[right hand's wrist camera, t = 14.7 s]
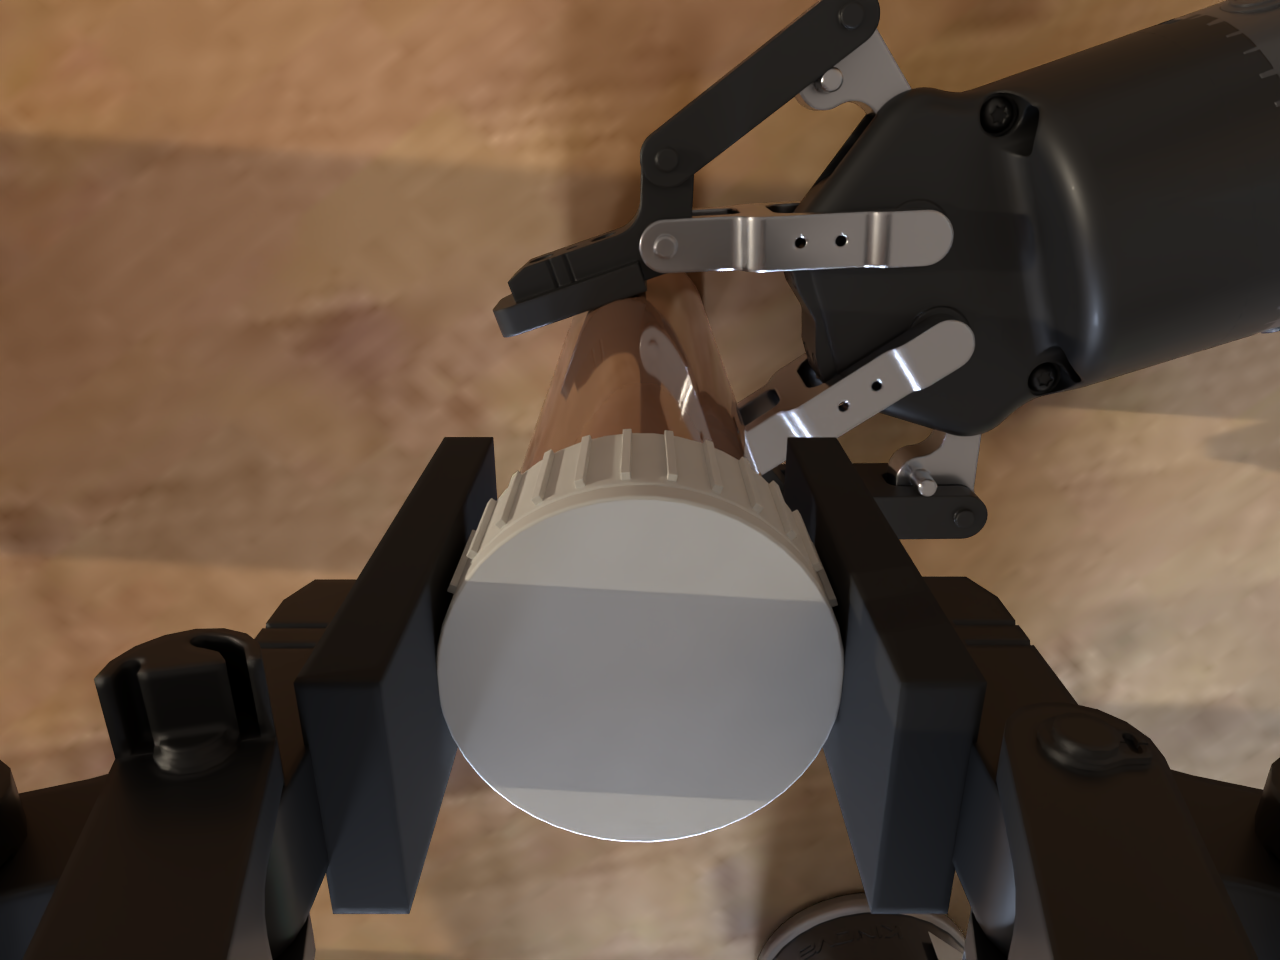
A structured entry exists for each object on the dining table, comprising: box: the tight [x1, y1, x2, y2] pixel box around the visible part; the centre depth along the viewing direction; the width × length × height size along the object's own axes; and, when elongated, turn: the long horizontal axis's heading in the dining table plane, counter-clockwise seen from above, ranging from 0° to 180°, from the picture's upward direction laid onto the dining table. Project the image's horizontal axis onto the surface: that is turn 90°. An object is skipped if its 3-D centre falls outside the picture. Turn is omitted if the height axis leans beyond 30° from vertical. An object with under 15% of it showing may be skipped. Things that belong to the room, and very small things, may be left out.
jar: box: [520, 272, 762, 477], centre depth 20 cm, size 4×4×19 cm
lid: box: [436, 429, 844, 842], centre depth 11 cm, size 5×5×2 cm
